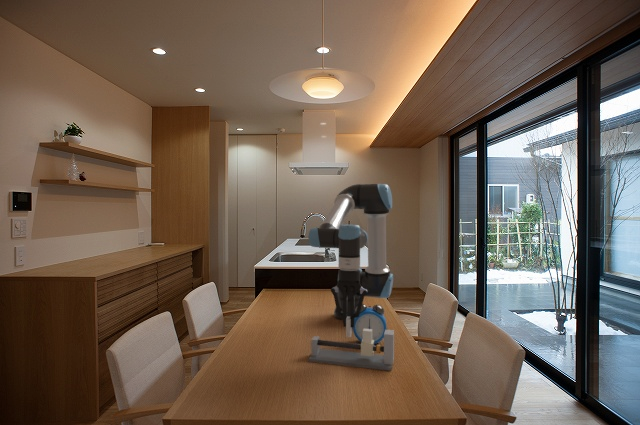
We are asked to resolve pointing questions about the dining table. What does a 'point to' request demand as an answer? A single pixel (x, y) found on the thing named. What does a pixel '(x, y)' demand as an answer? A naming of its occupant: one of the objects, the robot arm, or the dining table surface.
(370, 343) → the sleeve
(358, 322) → the alarm clock
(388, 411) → the dining table surface
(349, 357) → the slider rail fixture
